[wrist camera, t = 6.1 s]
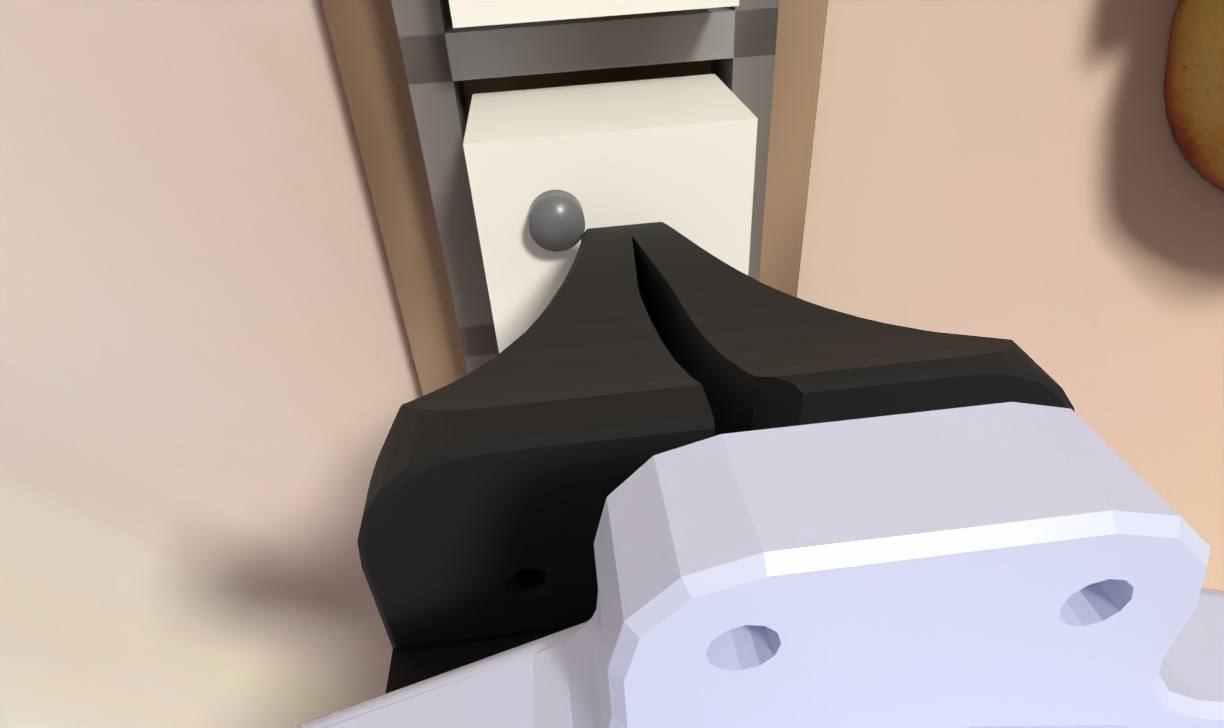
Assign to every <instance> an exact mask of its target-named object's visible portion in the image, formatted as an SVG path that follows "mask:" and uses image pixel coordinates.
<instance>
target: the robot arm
mask: <svg viewBox="0 0 1224 728" xmlns="http://www.w3.org/2000/svg"><path fill="white" fill-rule="evenodd" d="M358 547H359V553H360V558H361V564H362V568H363V571H364V574H365V576H366V579H367V581H368V584H369V587H370V589H371V592H372V594H373V597H374V600H375V602H376V605H377V607H378V610H379V613H380V615H381V618H382V621H383V623H384V626H385V628H386V631H387V634H388V636H389V639H390V641H391V644H392V647H393V652H392V658H391V664H390V671H389V677H388V683H387V689H386V694H384V695H381V696H379V697H376V698H373V699H370V700H368V701H365V702H362V703H359V704H356V705H354V706H351V707H348V708H345V709H343V710H340V711H337V712H334V713H331V714H329V715H326V716H323V717H320V718H317V719H315V720H312V721H309V722H306V723H304V724H301V725H298V726H295V727H292V728H1224V591H1220V590H1213V589H1205V588H1202V584H1203V580H1204V576H1205V573H1206V569H1207V564H1208V559H1209V555H1210V550H1211V548H1210V547H1209V546H1208V545H1207V544H1206V543H1205V542H1204V541H1203V539H1202V538H1201V537H1200V536H1199V535H1198V534H1197V533H1196V532H1195V531H1194V530H1193V529H1192V528H1191V527H1190V526H1189V525H1188V524H1187V523H1186V521H1185V520H1184V519H1183V518H1182V517H1181V516H1180V515H1179V514H1178V513H1177V512H1176V511H1175V510H1174V509H1173V508H1172V507H1171V506H1170V505H1169V504H1168V503H1167V502H1166V501H1165V500H1163V499H1162V498H1161V497H1160V496H1159V495H1158V494H1157V493H1156V492H1155V491H1154V490H1153V489H1152V488H1151V487H1150V486H1149V485H1148V484H1147V483H1146V482H1145V481H1144V480H1143V479H1142V478H1141V477H1140V476H1139V475H1138V474H1137V473H1136V472H1135V471H1134V470H1133V469H1132V468H1131V467H1130V466H1129V465H1128V464H1127V463H1126V462H1125V461H1124V460H1123V459H1122V458H1121V457H1120V456H1119V455H1118V454H1117V453H1116V452H1115V451H1114V450H1113V449H1112V448H1111V447H1110V446H1108V445H1107V444H1106V443H1105V442H1104V441H1103V440H1102V439H1101V438H1100V437H1099V436H1098V435H1097V434H1096V433H1095V432H1094V431H1093V430H1092V429H1091V428H1090V427H1089V426H1088V425H1087V424H1086V423H1085V422H1084V421H1083V420H1082V419H1081V418H1080V417H1079V416H1078V415H1077V414H1076V413H1075V412H1074V407H1073V406H1072V404H1071V402H1070V401H1069V399H1068V397H1067V396H1066V394H1065V392H1064V391H1063V389H1062V388H1061V387H1060V386H1059V385H1058V384H1057V383H1056V382H1055V381H1054V380H1053V379H1052V378H1051V377H1050V376H1049V375H1048V374H1047V373H1046V372H1045V371H1044V370H1043V369H1042V368H1041V367H1039V366H1038V365H1037V364H1036V363H1035V362H1034V361H1033V360H1032V359H1031V358H1030V357H1029V356H1028V355H1027V354H1026V353H1025V352H1024V351H1023V350H1022V349H1021V348H1020V347H1019V346H1018V345H1017V344H1015V343H1014V342H1013V341H1012V340H1008V339H998V338H988V337H978V336H968V335H958V334H948V333H938V332H931V331H924V330H919V329H913V328H908V327H902V326H897V325H891V324H886V323H881V322H877V321H872V320H868V319H864V318H859V317H856V316H852V315H849V314H845V313H842V312H838V311H835V310H831V309H828V308H824V307H821V306H818V305H815V304H812V303H809V302H807V301H804V300H801V299H799V298H796V297H794V296H791V295H789V294H786V293H784V292H781V291H779V290H776V289H774V288H772V287H770V286H768V285H765V284H763V283H761V282H759V281H757V280H755V279H754V278H752V277H750V276H748V275H746V274H744V273H742V272H740V271H738V270H737V269H735V268H733V267H731V266H730V265H728V264H726V263H725V262H723V261H721V260H720V259H718V258H716V257H715V256H713V255H712V254H710V253H709V252H707V251H705V250H704V249H702V248H701V247H699V246H698V245H696V244H695V243H694V242H692V241H691V240H689V239H688V238H686V237H685V236H683V235H682V234H680V233H679V232H678V231H676V230H675V229H673V228H672V227H670V226H669V225H667V224H665V223H663V222H653V223H643V224H632V225H621V226H611V227H600V228H589V229H587V230H586V231H585V232H584V233H583V234H582V235H581V243H580V247H579V250H578V252H577V255H576V257H575V260H574V262H573V264H572V266H571V268H570V270H569V272H568V274H567V276H566V278H565V280H564V281H563V283H562V285H561V286H560V288H559V289H558V291H557V292H556V294H555V295H554V297H553V298H552V300H551V301H550V303H549V304H548V306H547V307H546V308H545V310H544V311H543V312H542V314H541V315H540V316H539V317H538V318H537V320H536V321H535V322H534V323H533V324H532V325H531V326H530V327H529V329H528V330H527V331H526V332H525V333H523V334H522V335H521V336H520V337H519V338H517V339H516V340H515V341H514V342H513V343H511V344H510V345H509V346H508V347H507V348H506V349H504V350H503V351H502V352H501V353H499V354H498V355H497V356H495V357H494V358H492V359H491V360H489V361H488V362H486V363H485V364H483V365H482V366H480V367H479V368H477V369H475V370H474V371H472V372H470V373H469V374H467V375H465V376H464V377H462V378H460V379H458V380H456V381H454V382H452V383H451V384H448V385H446V386H444V387H442V388H440V389H437V390H435V391H433V392H431V393H429V394H426V395H424V396H422V397H420V398H418V399H415V400H413V401H411V402H408V403H406V404H403V405H402V406H401V407H400V409H399V411H398V413H397V416H396V418H395V420H394V422H393V425H392V427H391V429H390V431H389V434H388V436H387V438H386V440H385V443H384V445H383V447H382V450H381V452H380V454H379V457H378V459H377V462H376V465H375V468H374V471H373V474H372V478H371V481H370V486H369V490H368V495H367V500H366V504H365V509H364V514H363V518H362V523H361V527H360V532H359V536H358Z"/></svg>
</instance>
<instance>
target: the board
mask: <svg viewBox="0 0 1224 728" xmlns="http://www.w3.org/2000/svg"><path fill="white" fill-rule="evenodd" d="M321 1H322V5H323V9H324V13H325V17H326V21H327V24H328V28H329V32H330V36H331V40H332V44H333V48H334V52H335V56H336V60H337V63H338V67H339V71H340V75H341V79H342V83H343V87H344V91H345V95H346V99H347V102H348V106H349V110H350V114H351V118H352V122H353V126H354V130H355V134H356V137H357V141H358V145H359V149H360V153H361V157H362V161H363V165H364V169H365V173H366V176H367V180H368V184H369V188H370V192H371V196H372V200H373V204H374V208H375V212H376V215H377V219H378V223H379V227H380V231H381V235H382V239H383V243H384V247H385V251H386V254H387V258H388V262H389V266H390V270H391V274H392V278H393V282H394V286H395V290H396V293H397V297H398V301H399V305H400V309H401V313H402V317H403V321H404V325H405V329H406V332H407V336H408V340H409V344H410V348H411V352H412V356H413V360H414V364H415V367H416V371H417V375H418V379H419V383H420V387H421V391H422V395H423V396H424V395H426V394H429V393H431V392H433V391H435V390H437V389H440V388H442V387H444V386H446V385H448V384H451V383H452V382H454V381H456V380H458V379H460V378H462V377H464V376H465V375H467V374H469V373H470V372H472V371H474V370H475V369H477V368H479V367H480V366H482V365H483V364H485V363H486V362H488V361H489V360H491V359H492V358H494V357H495V356H497V355H498V354H499V350H498V344H497V338H496V332H495V327H494V321H493V315H492V309H491V304H490V298H489V292H488V286H487V280H486V275H485V269H484V263H483V257H482V252H481V246H480V240H479V234H478V228H477V223H476V217H475V211H474V205H473V199H472V194H471V188H470V182H469V176H468V171H467V165H466V159H465V153H464V147H463V142H464V136H465V131H466V126H467V121H468V116H469V110H470V105H471V100H472V95H473V94H479V93H491V92H503V91H514V90H526V89H538V88H550V87H562V86H574V85H586V84H598V83H610V82H622V81H634V80H646V79H658V78H670V77H682V76H694V75H706V74H715V75H716V76H717V77H718V78H719V79H720V80H721V81H722V82H723V83H724V84H725V85H726V86H727V87H728V88H729V89H730V90H731V91H732V92H733V93H734V94H735V95H736V96H737V97H738V99H739V100H740V101H741V102H742V103H743V104H744V105H745V106H746V107H747V108H748V109H749V110H750V111H751V112H752V113H753V114H754V115H755V116H756V117H757V118H758V124H757V140H756V157H755V173H754V189H753V206H752V222H751V238H750V255H749V271H748V276H750V277H752V278H754V279H755V280H757V281H759V282H761V283H763V284H765V285H768V286H770V287H772V288H774V289H776V290H779V291H781V292H784V293H786V294H789V295H791V296H794V297H796V298H797V288H798V279H799V269H800V260H801V251H802V241H803V232H804V222H805V213H806V204H807V194H808V185H809V175H810V166H811V157H812V147H813V138H814V128H815V119H816V110H817V100H818V91H819V81H820V72H821V63H822V53H823V44H824V34H825V25H826V16H827V6H828V0H739V6H730V7H717V8H704V9H692V10H679V11H666V12H653V13H640V14H628V15H615V16H602V17H589V18H576V19H564V20H551V21H538V22H525V23H512V24H500V25H487V26H474V27H461V28H453V24H452V18H451V12H450V6H449V0H321Z"/></svg>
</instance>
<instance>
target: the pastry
mask: <svg viewBox="0 0 1224 728" xmlns="http://www.w3.org/2000/svg"><path fill="white" fill-rule="evenodd" d="M1164 97H1165V107H1166V116H1167V119H1168V122H1169V124H1170V127H1171V130H1172V133H1173V136H1174V139H1175V141H1176V142H1177V144H1178V146H1179V147H1180V149H1181V150H1182V152H1183V154H1184V155H1185V157H1186V158H1187V159H1188V160H1189V162H1190V163H1191V164H1192V165H1193V167H1194V168H1195V169H1196V170H1197V172H1198V173H1199V174H1201V175H1202V176H1203V177H1205V178H1206V179H1207V180H1209V181H1210V182H1211V183H1213V184H1214V185H1215V186H1217V187H1218V188H1219V189H1221V190H1222V191H1224V0H1181V1H1180V4H1179V6H1178V9H1177V12H1176V14H1175V17H1174V20H1173V23H1172V30H1171V36H1170V43H1169V49H1168V56H1167V63H1166V72H1165V80H1164Z"/></svg>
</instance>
